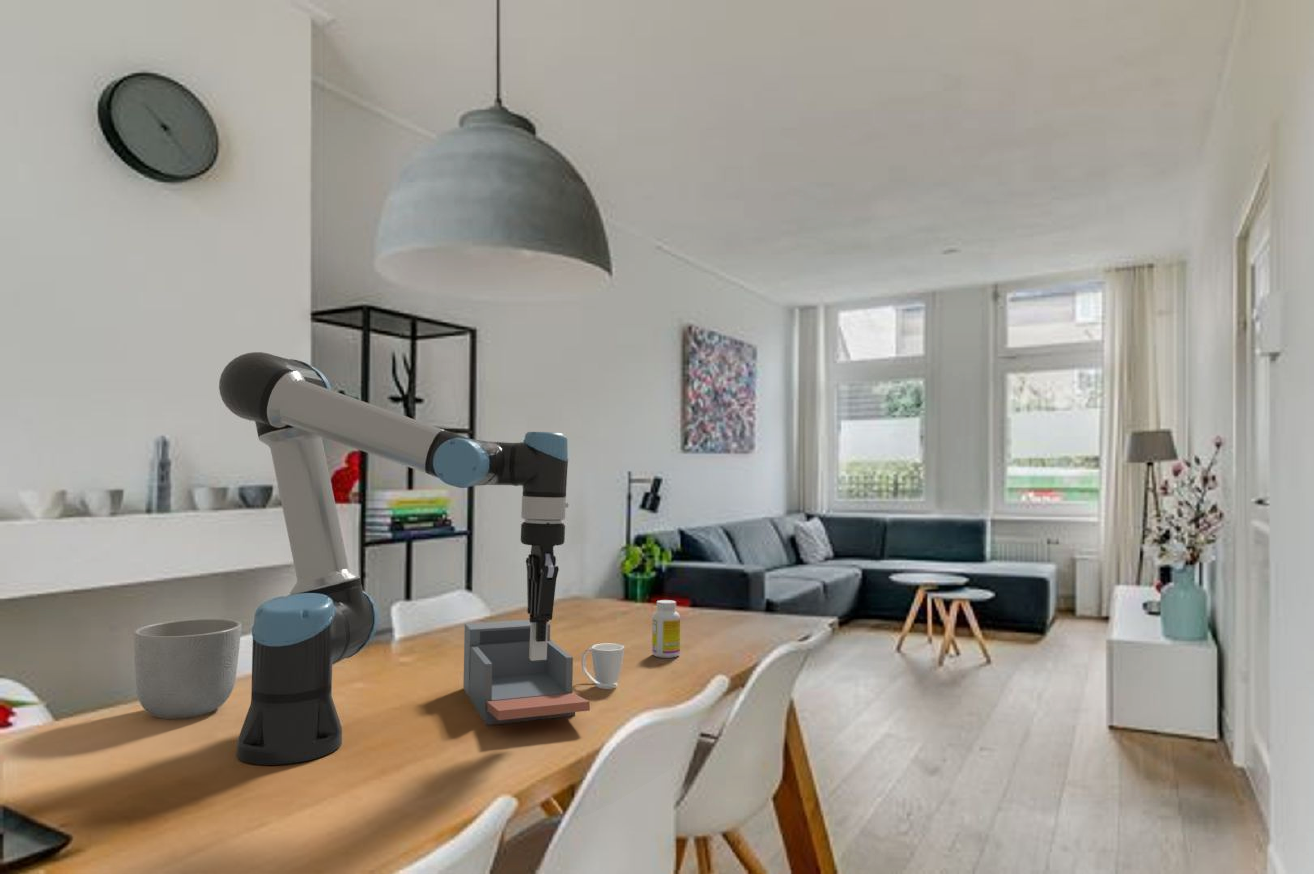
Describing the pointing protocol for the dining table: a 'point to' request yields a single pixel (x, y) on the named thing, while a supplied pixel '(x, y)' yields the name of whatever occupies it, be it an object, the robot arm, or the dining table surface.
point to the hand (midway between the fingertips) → (537, 658)
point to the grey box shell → (493, 638)
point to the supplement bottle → (666, 630)
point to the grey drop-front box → (517, 676)
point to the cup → (605, 664)
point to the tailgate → (537, 706)
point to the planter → (186, 666)
